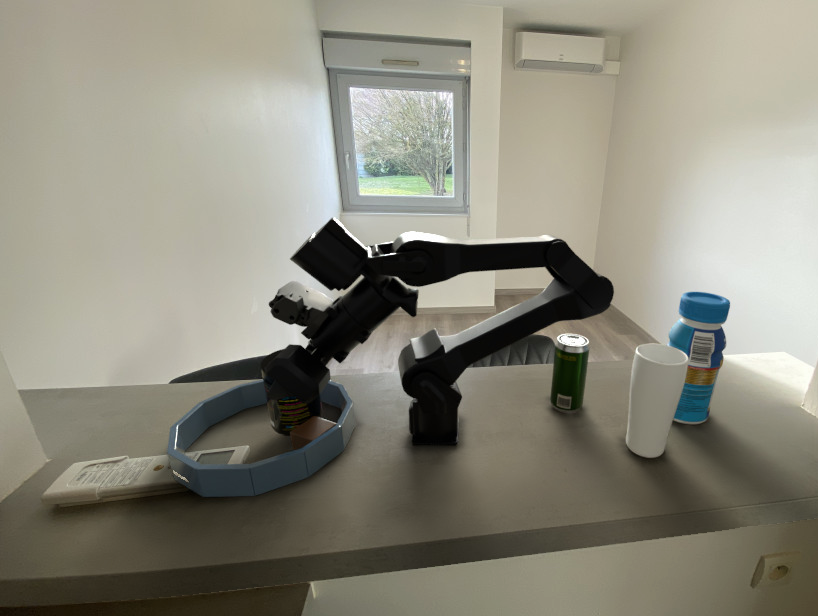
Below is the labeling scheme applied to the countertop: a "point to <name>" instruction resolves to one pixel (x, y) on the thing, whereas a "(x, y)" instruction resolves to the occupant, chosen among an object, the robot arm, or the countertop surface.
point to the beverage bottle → (699, 351)
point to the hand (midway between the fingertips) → (283, 382)
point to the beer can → (569, 372)
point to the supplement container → (287, 405)
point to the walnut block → (309, 431)
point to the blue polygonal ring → (262, 473)
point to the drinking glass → (654, 397)
